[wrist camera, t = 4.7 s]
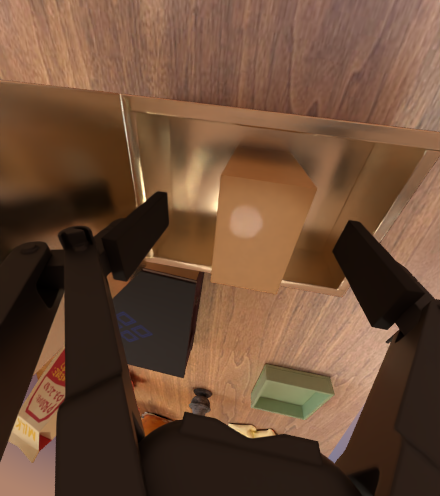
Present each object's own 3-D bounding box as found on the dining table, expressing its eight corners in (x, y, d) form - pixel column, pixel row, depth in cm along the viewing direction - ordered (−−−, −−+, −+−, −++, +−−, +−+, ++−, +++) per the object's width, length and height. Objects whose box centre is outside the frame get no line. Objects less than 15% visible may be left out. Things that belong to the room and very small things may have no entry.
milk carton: (116, 328, 43) (31, 460, 27) (123, 350, 49) (55, 470, 32) (77, 319, 44) (-30, 443, 27) (88, 341, 49) (3, 456, 33)
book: (208, 249, 27) (196, 284, 22) (193, 343, 42) (183, 378, 36) (87, 221, 28) (45, 249, 22) (114, 324, 42) (93, 355, 37)
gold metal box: (389, 125, 17) (455, 133, 11) (323, 255, 25) (342, 297, 19) (162, 98, 18) (119, 93, 12) (169, 229, 26) (145, 261, 21)
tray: (330, 377, 41) (334, 394, 38) (303, 404, 50) (305, 420, 48) (265, 363, 42) (266, 379, 39) (251, 393, 51) (250, 407, 49)
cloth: (221, 433, 76) (219, 456, 71) (225, 418, 65) (223, 443, 60) (280, 447, 74) (282, 471, 69) (294, 433, 63) (298, 461, 58)
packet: (291, 153, 18) (318, 188, 10) (270, 228, 23) (276, 294, 15) (237, 145, 18) (220, 174, 10) (226, 221, 23) (210, 282, 15)
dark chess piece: (205, 387, 53) (193, 448, 44) (217, 396, 56) (208, 457, 46) (188, 388, 56) (173, 447, 46) (200, 397, 58) (189, 455, 49)
